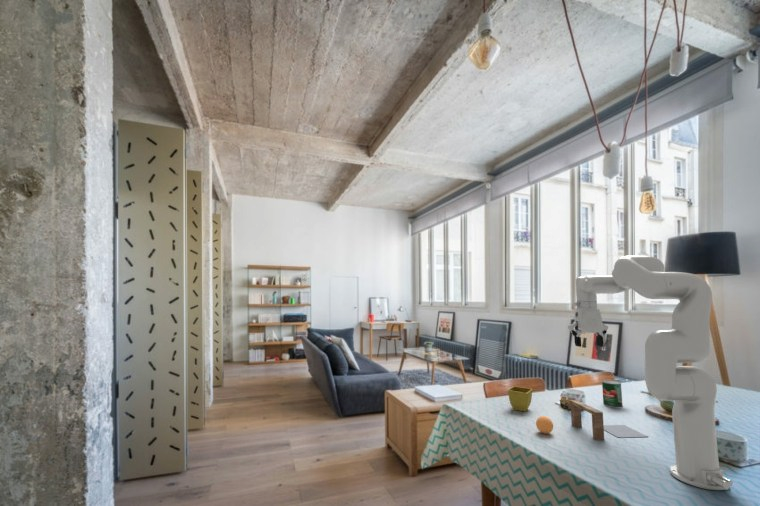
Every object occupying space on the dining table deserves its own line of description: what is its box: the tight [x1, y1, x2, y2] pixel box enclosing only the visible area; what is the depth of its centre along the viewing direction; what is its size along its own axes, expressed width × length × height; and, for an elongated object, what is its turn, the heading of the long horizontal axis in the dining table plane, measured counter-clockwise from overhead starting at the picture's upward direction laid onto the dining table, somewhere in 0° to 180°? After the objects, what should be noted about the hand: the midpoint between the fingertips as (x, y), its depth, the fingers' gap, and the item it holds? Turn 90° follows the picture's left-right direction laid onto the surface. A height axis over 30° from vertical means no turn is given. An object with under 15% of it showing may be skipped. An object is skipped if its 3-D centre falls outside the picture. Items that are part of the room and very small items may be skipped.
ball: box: [535, 415, 554, 435], centre depth 137 cm, size 6×6×6 cm
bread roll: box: [559, 396, 584, 411], centre depth 169 cm, size 10×10×8 cm
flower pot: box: [507, 385, 533, 412], centre depth 165 cm, size 9×9×9 cm
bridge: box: [570, 400, 605, 441], centre depth 139 cm, size 15×3×10 cm, turn 5°
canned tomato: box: [601, 379, 623, 408], centre depth 173 cm, size 8×8×11 cm
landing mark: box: [604, 424, 649, 439], centre depth 139 cm, size 12×12×1 cm
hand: (589, 346), depth 151 cm, fingers open, 9 cm apart
